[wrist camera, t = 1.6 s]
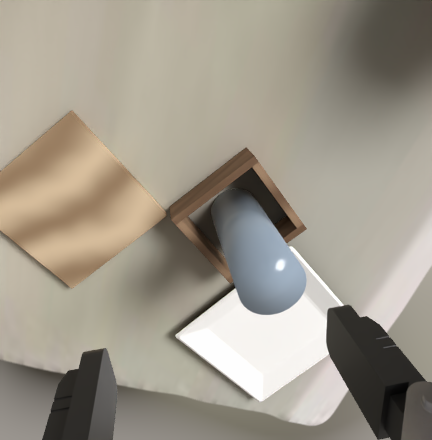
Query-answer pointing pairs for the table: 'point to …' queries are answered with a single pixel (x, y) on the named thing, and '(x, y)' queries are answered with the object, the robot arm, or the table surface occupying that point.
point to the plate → (264, 338)
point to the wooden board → (73, 202)
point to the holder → (212, 186)
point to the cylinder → (256, 254)
